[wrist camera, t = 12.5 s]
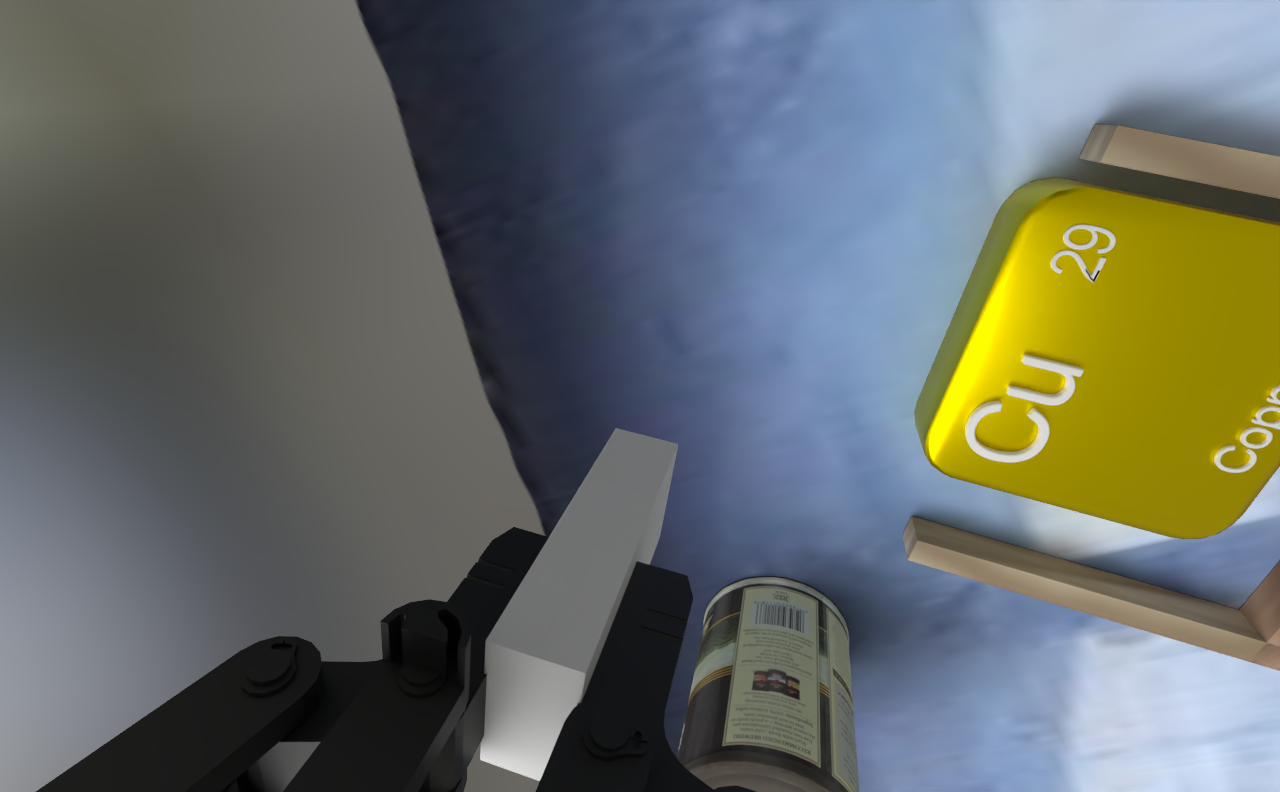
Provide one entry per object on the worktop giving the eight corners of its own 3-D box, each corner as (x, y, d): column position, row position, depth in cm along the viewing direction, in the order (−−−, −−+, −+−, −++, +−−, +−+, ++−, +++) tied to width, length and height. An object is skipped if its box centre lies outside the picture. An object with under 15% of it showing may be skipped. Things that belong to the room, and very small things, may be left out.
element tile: (1175, 504, 35) (1224, 559, 31) (901, 432, 37) (913, 473, 33) (1359, 238, 28) (1455, 260, 24) (1013, 168, 31) (1045, 177, 26)
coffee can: (734, 694, 49) (706, 896, 36) (682, 589, 46) (633, 770, 33) (870, 678, 45) (893, 898, 32) (823, 562, 42) (828, 755, 29)
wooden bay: (1094, 124, 29) (1117, 125, 27) (1609, 223, 26) (1683, 234, 24) (902, 534, 39) (907, 560, 37) (1251, 636, 37) (1279, 670, 34)
